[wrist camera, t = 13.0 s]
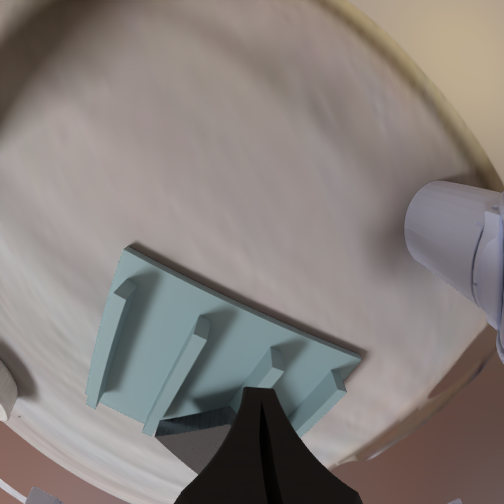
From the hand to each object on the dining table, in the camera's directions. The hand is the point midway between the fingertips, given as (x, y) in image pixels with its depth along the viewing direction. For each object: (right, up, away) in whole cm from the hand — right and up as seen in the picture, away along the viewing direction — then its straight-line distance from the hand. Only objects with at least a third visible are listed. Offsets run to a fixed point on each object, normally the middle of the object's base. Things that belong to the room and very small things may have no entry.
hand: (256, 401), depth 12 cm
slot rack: (-4, -5, +12) cm, 14 cm away
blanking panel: (0, -9, +9) cm, 13 cm away
